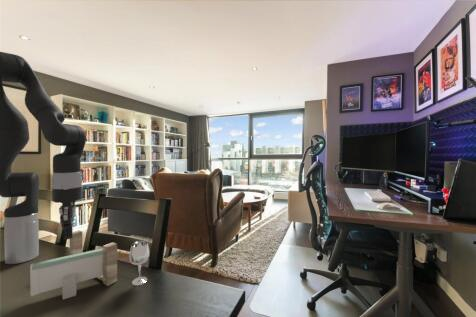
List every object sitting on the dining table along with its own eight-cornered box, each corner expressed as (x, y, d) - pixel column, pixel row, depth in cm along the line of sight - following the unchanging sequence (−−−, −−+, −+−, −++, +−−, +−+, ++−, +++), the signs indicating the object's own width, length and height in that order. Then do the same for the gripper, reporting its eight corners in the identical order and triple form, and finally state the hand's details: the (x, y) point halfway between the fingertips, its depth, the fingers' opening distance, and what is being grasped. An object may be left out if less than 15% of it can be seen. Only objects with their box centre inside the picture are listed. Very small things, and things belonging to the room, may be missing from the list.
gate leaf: (108, 272, 70) (108, 246, 70) (109, 274, 68) (109, 248, 68) (31, 293, 59) (31, 263, 59) (30, 297, 57) (30, 266, 57)
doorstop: (76, 290, 63) (76, 273, 63) (76, 295, 61) (75, 278, 61) (63, 293, 62) (63, 276, 61) (62, 299, 59) (62, 281, 59)
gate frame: (69, 265, 77) (69, 232, 77) (79, 262, 80) (79, 230, 79) (107, 286, 65) (107, 247, 65) (117, 280, 68) (117, 243, 68)
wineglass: (141, 287, 65) (141, 248, 64) (125, 285, 66) (125, 247, 65) (153, 277, 70) (153, 241, 70) (137, 275, 71) (137, 239, 71)
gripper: (55, 183, 72) (56, 233, 73) (48, 190, 61) (49, 249, 62) (82, 182, 76) (83, 229, 77) (80, 188, 65) (81, 243, 66)
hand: (68, 238), depth 70 cm, fingers closed
